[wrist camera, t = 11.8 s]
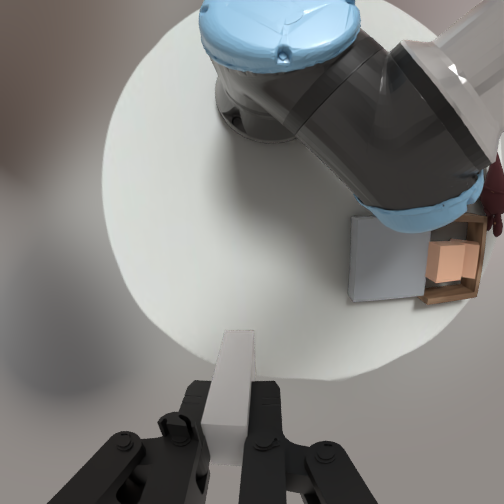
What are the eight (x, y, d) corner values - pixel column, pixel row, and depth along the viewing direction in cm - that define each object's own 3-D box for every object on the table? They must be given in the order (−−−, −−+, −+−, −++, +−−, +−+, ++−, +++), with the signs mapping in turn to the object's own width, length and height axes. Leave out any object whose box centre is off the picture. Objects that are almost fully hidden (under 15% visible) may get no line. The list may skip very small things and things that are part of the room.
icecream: (489, 146, 28) (484, 238, 33) (519, 153, 26) (513, 240, 31) (471, 146, 34) (468, 227, 39) (500, 152, 32) (496, 230, 37)
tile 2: (479, 245, 32) (478, 242, 34) (450, 241, 36) (450, 238, 38) (474, 278, 33) (474, 273, 36) (446, 274, 37) (446, 269, 39)
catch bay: (422, 210, 37) (437, 214, 33) (471, 213, 37) (487, 216, 32) (414, 294, 41) (427, 304, 36) (463, 288, 40) (476, 297, 36)
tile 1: (428, 241, 35) (440, 246, 32) (453, 240, 35) (465, 245, 32) (425, 276, 37) (435, 283, 34) (449, 273, 37) (460, 279, 33)
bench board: (351, 216, 38) (357, 218, 35) (421, 217, 38) (431, 219, 35) (347, 294, 41) (353, 302, 38) (415, 288, 40) (423, 295, 37)
